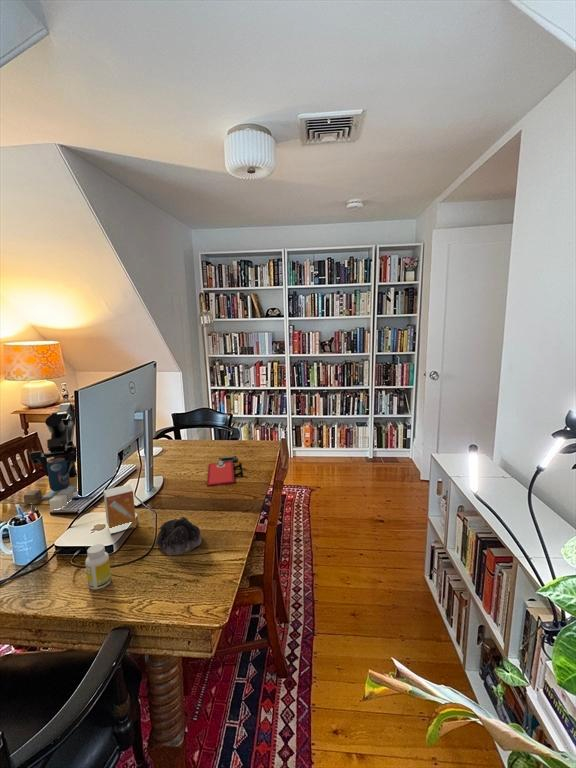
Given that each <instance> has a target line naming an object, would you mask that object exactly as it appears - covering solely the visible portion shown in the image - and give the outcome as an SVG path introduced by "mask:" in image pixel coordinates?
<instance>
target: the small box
mask: <svg viewBox="0 0 576 768" xmlns="http://www.w3.org/2000/svg"><path fill="white" fill-rule="evenodd" d="M134 497H135V495H134V490H133V489H132V486H131V485H130V484H126V485H121V486H120V485H119V486H116V487H113V488H108V489H105V490H103V499H104V508H105V517H106V524H107V523H108V526H109V528H112V527H115V526H118V525H122V524H125V523H129V522H132V523H133V525H134V528H133V529H135V528H137V521H136V509H135V499H134Z"/></svg>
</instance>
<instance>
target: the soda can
mask: <svg viewBox="0 0 576 768" xmlns="http://www.w3.org/2000/svg"><path fill="white" fill-rule="evenodd" d="M47 462H48V464H47V472H48V476H47V477H48V485H49V489H50V491H51V490H52V491H61V490H64V489H67V488H68V487H69V486H71V485H70V484H71V482H70V478H69V473H67V461H66V460H65V458H64V457H58V458H54V457H52V458H49V460H47Z"/></svg>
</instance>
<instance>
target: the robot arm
mask: <svg viewBox="0 0 576 768" xmlns="http://www.w3.org/2000/svg"><path fill="white" fill-rule="evenodd" d="M74 406H75V405H74V403H73V402H64V403H60V404H59V408H58V410H56V411H54V412H51V413H50V415H48V416H47V418H46V419H45V422H44V423H45V425H46V427H47V429H48V431H49V432H50V434H51V435H50V438H49V439H46V441H47V442H46V444H47V445H46V447H47V449H48V452H46V453H45V452H43V451H42V450H37V451H31V452H30V453H29V454H28V455H29V456H28V459H29V460H30V462H31V463H32V464H33V465H35V464H36V465H37V464H38V465H40V466H41V465H42V468H43V470H44V471H43V472H44V474H45V476H46V477H48V472H47V464H48V459H53V458H58V457H64V458H65V460H66V461H67V473H69V479H70V478H75V476H76V471H77V469H76V463H77V462H76V446H77V445H74V434H75V427H76V425H75V417H74Z"/></svg>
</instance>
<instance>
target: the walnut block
mask: <svg viewBox="0 0 576 768" xmlns="http://www.w3.org/2000/svg"><path fill="white" fill-rule="evenodd" d="M42 497H43V496H42V490H41V489H33V490H32V489H31V490H28V491H27V492H26V493H24V494H23V501H24V505H25V504H30V503H33V504H32V505H36V504H38V503H40V502H41V501H43V498H42Z"/></svg>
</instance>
